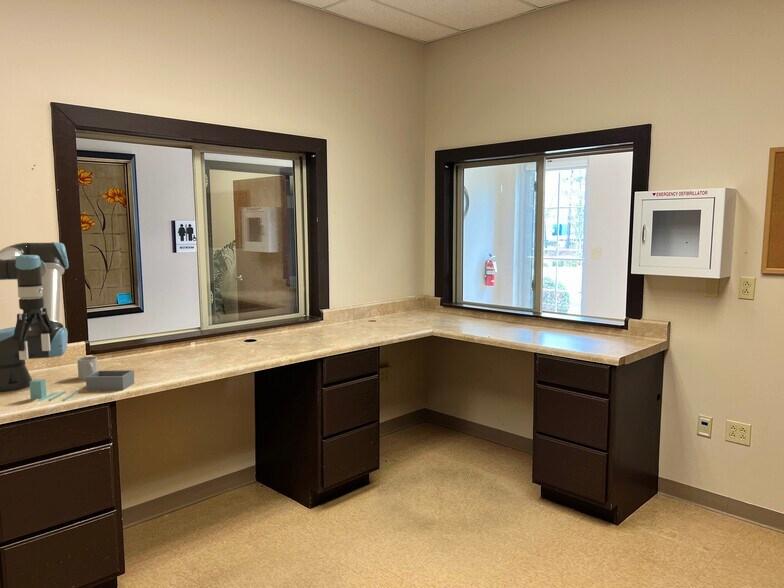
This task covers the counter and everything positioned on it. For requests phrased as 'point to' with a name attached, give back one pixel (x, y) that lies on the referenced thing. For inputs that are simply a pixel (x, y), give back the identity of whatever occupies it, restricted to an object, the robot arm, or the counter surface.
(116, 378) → the tub
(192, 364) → the counter surface
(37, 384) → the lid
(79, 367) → the cup
